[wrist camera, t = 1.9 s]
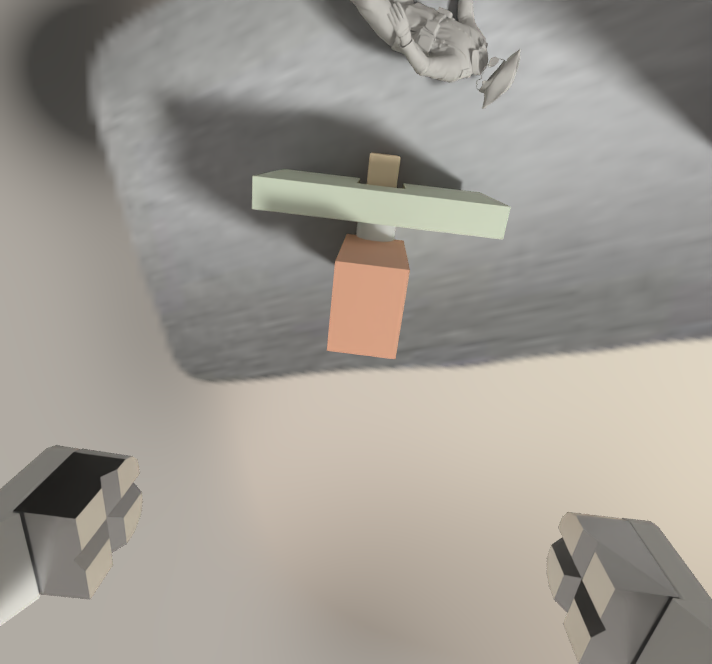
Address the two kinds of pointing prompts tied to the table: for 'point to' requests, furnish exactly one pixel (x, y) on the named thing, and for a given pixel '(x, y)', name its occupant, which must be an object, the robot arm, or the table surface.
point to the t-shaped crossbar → (374, 243)
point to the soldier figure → (439, 42)
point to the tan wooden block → (383, 170)
